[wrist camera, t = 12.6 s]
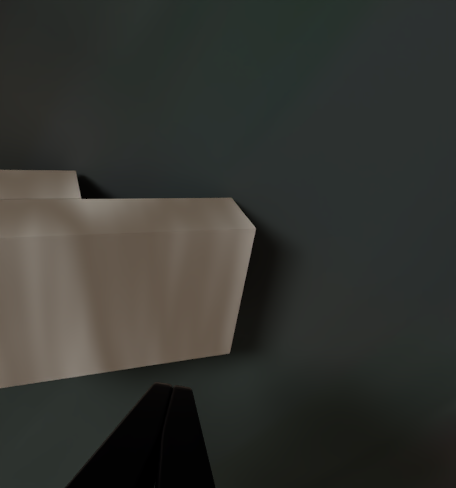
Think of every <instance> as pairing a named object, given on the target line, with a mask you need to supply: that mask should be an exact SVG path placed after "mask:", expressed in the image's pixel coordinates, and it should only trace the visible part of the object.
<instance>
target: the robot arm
mask: <svg viewBox="0 0 456 488" xmlns="http://www.w3.org/2000/svg"><path fill="white" fill-rule="evenodd" d="M155 482H156V483H155ZM154 486H155V488H215V484H214V479H213V475H212V471H211V467H210V463H209V459H208V454H207V450H206V446H205V442H204V438H203V434H202V429H201V425H200V421H199V417H198V413H197V408H196V404H195V400H194V396H193V392H192V389H191V388H189V387H184V386H178V385H175V386H174V387H172V385H170V384H166V383H159V382H156V383H154V384H153V385H152V386H151V387H150V388H149V389H148V391H147V392H146V393H145V394H144V395H143V396H142V398H141V399H140V400H139V401H138V402H137V403H136V405H135V406H134V407H133V408H132V409H131V411H130V412H129V413H128V414H127V415H126V416H125V418H124V419H123V420H122V421H121V422H120V423H119V425H118V426H117V427H116V428H115V429H114V431H113V432H112V433H111V434H110V435H109V436H108V438H107V439H106V440H105V441H104V442H103V443H102V445H101V446H100V447H99V448H98V449H97V451H96V452H95V453H94V454H93V455H92V456H91V458H90V459H89V460H88V461H87V462H86V463H85V465H84V466H83V467H82V468H81V469H80V471H79V472H78V473H77V474H76V475H75V476H74V478H73V479H72V480H71V481H70V482H69V483H68V485H67V486H66V487H65V488H154Z"/></svg>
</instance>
